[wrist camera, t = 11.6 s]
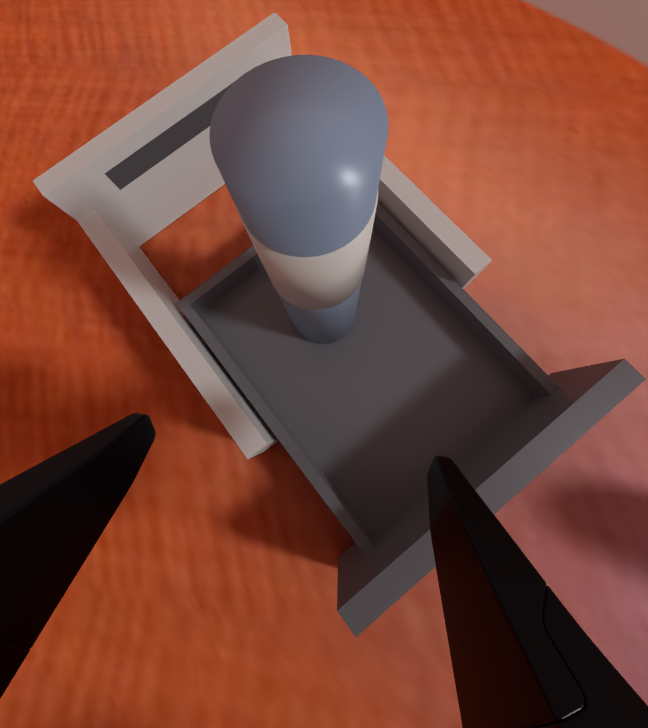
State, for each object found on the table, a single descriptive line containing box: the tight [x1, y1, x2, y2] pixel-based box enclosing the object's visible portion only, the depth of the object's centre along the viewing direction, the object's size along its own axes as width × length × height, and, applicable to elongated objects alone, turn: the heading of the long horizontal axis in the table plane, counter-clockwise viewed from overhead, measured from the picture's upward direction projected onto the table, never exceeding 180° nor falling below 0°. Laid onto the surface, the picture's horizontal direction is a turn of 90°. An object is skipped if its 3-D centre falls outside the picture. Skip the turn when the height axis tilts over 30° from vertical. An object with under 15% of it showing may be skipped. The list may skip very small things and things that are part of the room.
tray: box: [177, 202, 645, 637], centre depth 16 cm, size 18×17×5 cm
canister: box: [210, 55, 388, 344], centre depth 12 cm, size 4×4×12 cm
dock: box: [33, 12, 492, 459], centre depth 18 cm, size 18×16×6 cm
